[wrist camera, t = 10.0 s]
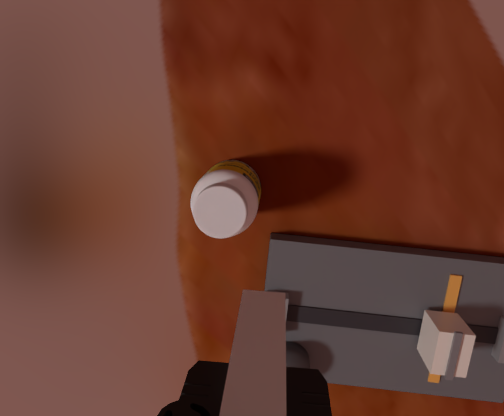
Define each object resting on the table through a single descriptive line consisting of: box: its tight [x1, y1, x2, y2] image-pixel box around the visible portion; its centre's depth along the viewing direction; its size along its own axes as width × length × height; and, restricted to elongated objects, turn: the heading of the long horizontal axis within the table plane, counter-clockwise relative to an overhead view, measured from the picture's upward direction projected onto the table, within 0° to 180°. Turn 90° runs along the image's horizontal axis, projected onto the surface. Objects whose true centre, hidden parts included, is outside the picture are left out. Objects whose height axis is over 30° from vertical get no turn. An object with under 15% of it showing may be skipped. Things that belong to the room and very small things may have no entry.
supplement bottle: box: [191, 160, 261, 238], centre depth 38 cm, size 5×5×10 cm
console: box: [265, 233, 504, 403], centre depth 43 cm, size 14×24×5 cm, turn 85°
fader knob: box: [417, 310, 476, 381], centre depth 41 cm, size 4×3×4 cm
